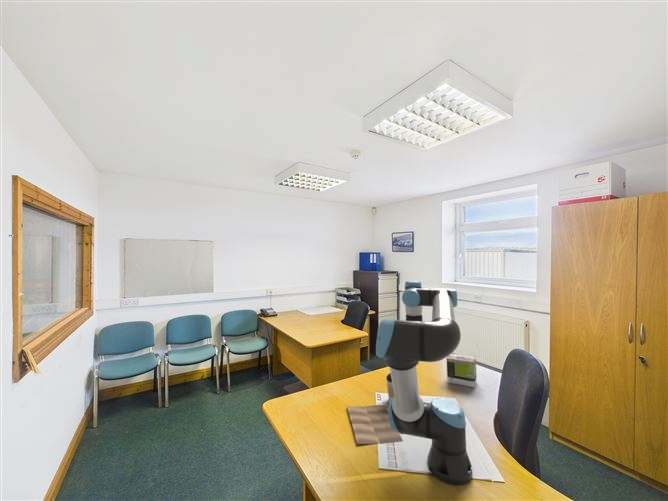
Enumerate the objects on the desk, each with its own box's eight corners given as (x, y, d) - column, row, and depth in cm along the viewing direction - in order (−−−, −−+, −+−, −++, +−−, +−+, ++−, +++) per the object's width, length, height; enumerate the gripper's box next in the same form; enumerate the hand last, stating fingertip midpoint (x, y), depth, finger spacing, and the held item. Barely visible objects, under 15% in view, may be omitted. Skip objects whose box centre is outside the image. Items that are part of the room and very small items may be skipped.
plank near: (378, 446, 117) (378, 442, 117) (357, 446, 116) (357, 443, 116) (370, 425, 130) (371, 423, 130) (351, 425, 129) (351, 422, 129)
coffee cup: (405, 408, 144) (404, 378, 144) (386, 406, 146) (386, 377, 146) (404, 398, 153) (403, 371, 153) (387, 397, 155) (386, 370, 155)
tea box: (476, 381, 170) (476, 356, 170) (474, 388, 162) (474, 362, 162) (450, 376, 178) (449, 352, 178) (446, 382, 170) (446, 357, 170)
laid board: (403, 444, 118) (403, 441, 118) (379, 446, 117) (379, 443, 117) (384, 407, 146) (384, 404, 146) (365, 408, 145) (365, 406, 145)
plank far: (370, 425, 131) (370, 422, 131) (351, 425, 130) (351, 422, 130) (364, 409, 144) (364, 406, 144) (347, 408, 143) (347, 406, 143)
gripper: (427, 316, 128) (429, 369, 128) (416, 310, 141) (417, 358, 141) (411, 317, 127) (413, 370, 127) (401, 311, 140) (402, 359, 140)
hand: (415, 363), depth 134 cm, fingers closed
